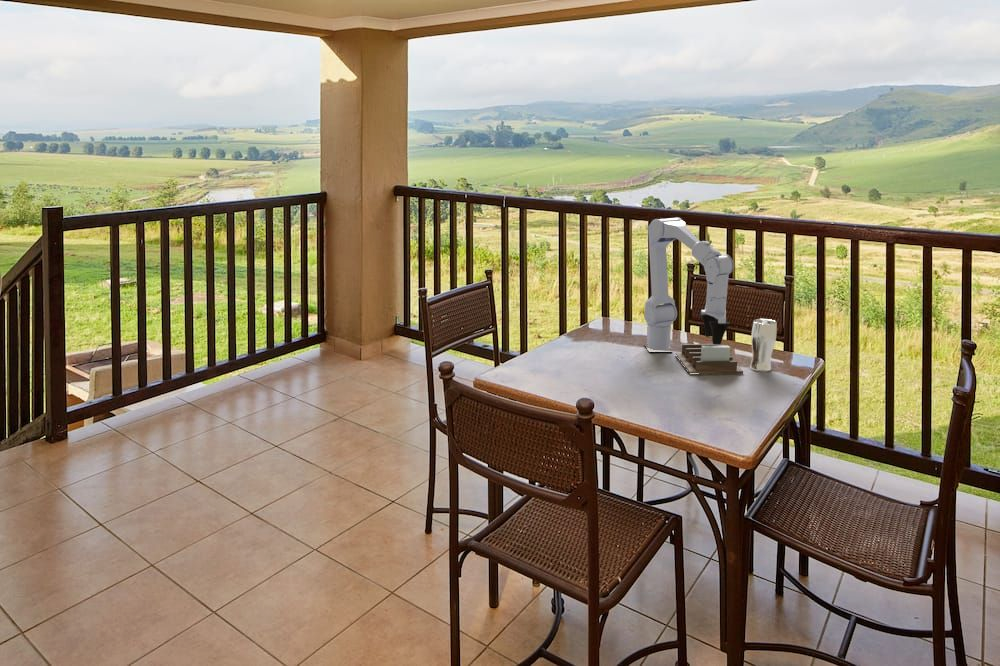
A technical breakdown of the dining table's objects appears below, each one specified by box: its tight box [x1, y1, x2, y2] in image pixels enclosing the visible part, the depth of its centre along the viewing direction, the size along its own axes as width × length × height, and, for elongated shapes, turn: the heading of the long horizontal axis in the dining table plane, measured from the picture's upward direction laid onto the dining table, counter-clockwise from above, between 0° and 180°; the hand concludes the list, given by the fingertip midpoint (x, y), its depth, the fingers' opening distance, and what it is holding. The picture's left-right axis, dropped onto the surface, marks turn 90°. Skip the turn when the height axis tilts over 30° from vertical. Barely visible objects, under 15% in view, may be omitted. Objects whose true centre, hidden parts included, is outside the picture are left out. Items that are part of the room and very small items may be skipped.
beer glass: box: [749, 318, 778, 373], centre depth 197 cm, size 7×7×15 cm
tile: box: [700, 345, 731, 361], centre depth 196 cm, size 2×8×7 cm, turn 89°
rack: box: [675, 343, 744, 375], centre depth 203 cm, size 18×16×4 cm
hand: (712, 340), depth 195 cm, fingers open, 7 cm apart
